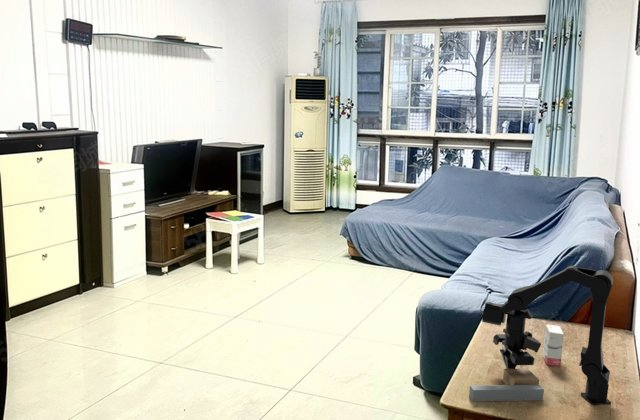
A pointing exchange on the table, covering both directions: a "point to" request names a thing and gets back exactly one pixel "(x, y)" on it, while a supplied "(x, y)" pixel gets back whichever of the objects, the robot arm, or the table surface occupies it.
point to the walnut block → (519, 377)
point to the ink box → (553, 345)
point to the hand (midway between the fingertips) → (510, 373)
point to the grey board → (505, 392)
